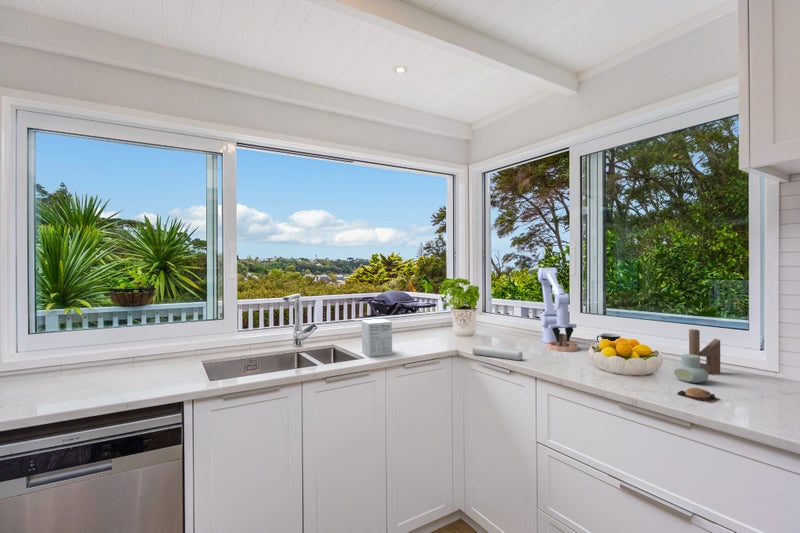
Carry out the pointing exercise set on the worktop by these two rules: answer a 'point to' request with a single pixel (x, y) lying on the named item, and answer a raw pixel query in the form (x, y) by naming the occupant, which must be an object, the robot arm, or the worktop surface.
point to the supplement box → (376, 337)
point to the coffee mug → (609, 337)
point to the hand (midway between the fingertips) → (562, 341)
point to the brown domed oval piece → (699, 395)
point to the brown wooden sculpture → (705, 352)
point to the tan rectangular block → (563, 340)
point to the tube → (497, 352)
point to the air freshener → (691, 369)
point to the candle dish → (557, 347)
